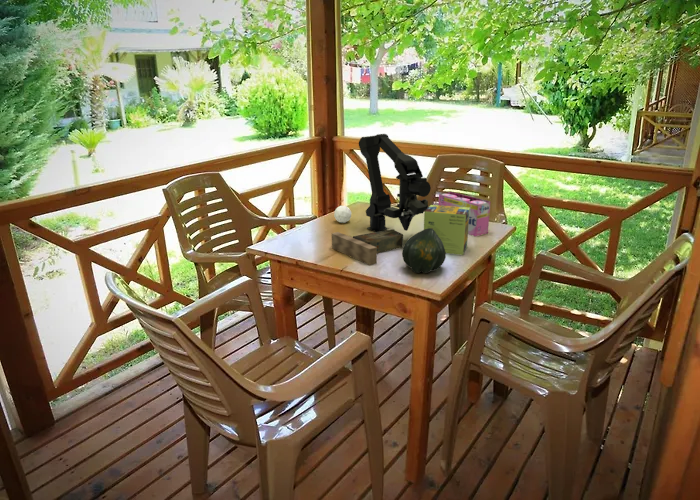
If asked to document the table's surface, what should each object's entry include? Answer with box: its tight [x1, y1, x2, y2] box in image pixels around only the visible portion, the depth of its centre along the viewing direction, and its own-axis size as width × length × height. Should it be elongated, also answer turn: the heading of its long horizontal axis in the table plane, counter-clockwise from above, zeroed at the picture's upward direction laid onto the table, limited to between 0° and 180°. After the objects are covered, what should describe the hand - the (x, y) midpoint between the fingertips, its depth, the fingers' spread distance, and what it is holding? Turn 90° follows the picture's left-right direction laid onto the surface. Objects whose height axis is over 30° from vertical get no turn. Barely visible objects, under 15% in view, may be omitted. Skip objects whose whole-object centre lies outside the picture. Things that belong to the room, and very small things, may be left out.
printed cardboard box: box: [352, 228, 404, 254], centre depth 189 cm, size 8×19×6 cm, turn 119°
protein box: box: [423, 204, 470, 256], centre depth 187 cm, size 10×15×16 cm
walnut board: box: [331, 231, 378, 266], centre depth 183 cm, size 23×3×6 cm, turn 37°
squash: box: [401, 228, 447, 274], centre depth 169 cm, size 14×15×15 cm
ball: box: [333, 205, 352, 224], centre depth 223 cm, size 8×8×8 cm
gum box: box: [437, 191, 491, 237], centre depth 211 cm, size 24×8×14 cm, turn 35°
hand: (405, 230), depth 197 cm, fingers closed
